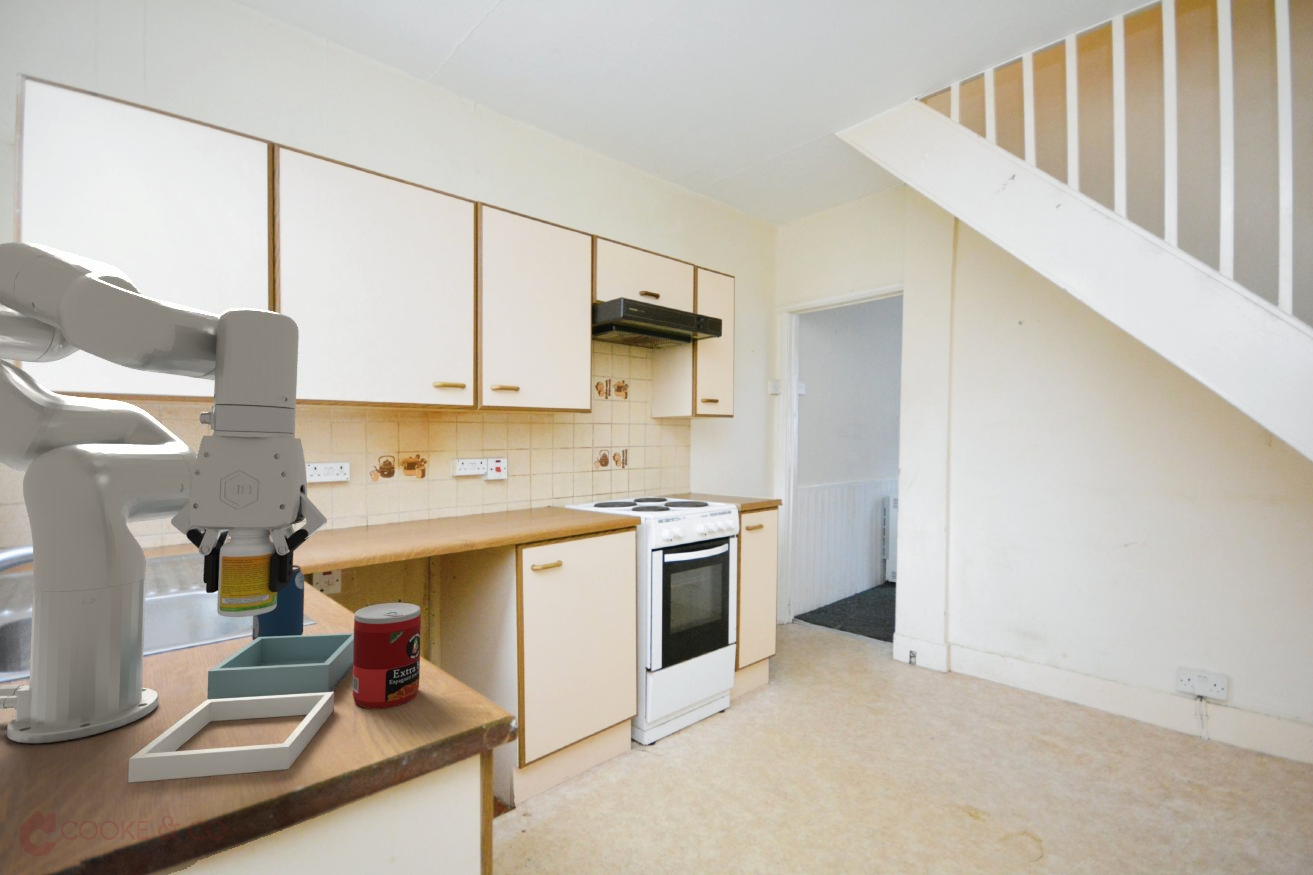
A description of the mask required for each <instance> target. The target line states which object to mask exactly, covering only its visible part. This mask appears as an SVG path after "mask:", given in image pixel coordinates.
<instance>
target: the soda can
mask: <svg viewBox="0 0 1313 875" xmlns="http://www.w3.org/2000/svg"><path fill="white" fill-rule="evenodd" d="M304 608H305V576H304V574H303V572H302V568H301V566H300V565H297V564H295V565H294V564H293V575H292V580H291V581H290V582H288V586H287V587H286V588H284V589H282V590H280V591H278V592H277V606H276V608H275V609H274V610H272V611H270V612H267V613H263V614H259V615H254V616H252V634H251V636H252V637H251V640H252V641H253V640H255V639H256V638H258V637H272V636H295V635H304V620H305V619H304V618H305V617H304V614H305V613H304V612H305V610H304Z"/></svg>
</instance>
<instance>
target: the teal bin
mask: <svg viewBox="0 0 1313 875" xmlns="http://www.w3.org/2000/svg"><path fill="white" fill-rule="evenodd" d="M353 649H354V632H347V633H344V632H343V633H341V632H340V633H323V634H319V633H318V634H302V635H295V636H272V637H258V638H256V639H255V640H253V639H252V641H250V642H249V643H248V644H246V645H244V646H243V647H242V648H240V649H239V650H237V651H236V652H234V653H233V654H232V655H230V656H228V657H227V658H225V659H224V660H223V661H221V662H219V663H218V664H217V665H216V666H214V667H212V668H211V669H209V670H208V671H207V672H208V673H207V699H224V698H240V697H256V696H273V695H289V694H306V693H322V692H334V690H335V689H336V688H337V687H338V686H339V684H341V682H342V680H343V679H344V678H345V677H346V676H347V675H348V673H349V672H350V671H351V670H352V669H353ZM350 669H351V670H350ZM335 687H336V688H335ZM207 699H206V700H207Z"/></svg>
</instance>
